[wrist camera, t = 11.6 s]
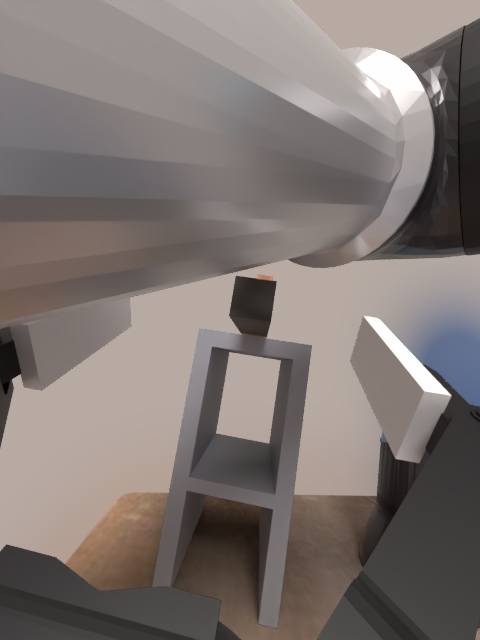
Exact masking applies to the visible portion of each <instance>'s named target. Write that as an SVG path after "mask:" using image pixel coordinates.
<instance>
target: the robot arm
mask: <svg viewBox="0 0 480 640" xmlns="http://www.w3.org/2000/svg"><path fill="white" fill-rule="evenodd" d="M476 254H480V18H479V19H477V20H476V21H474V22H472V23H470V24H469V25H467V26H463V27H461V28H459V29H457V30H455V31H453V32H452V33H450V34H448V35H446V36H444V37H443V38H441V39H439V40H437V41H435V42H433V43H432V44H430V45H428V46H426V47H424V48H422V49H421V50H419V51H417V52H415V53H412V54H410V55H408V56H406V57H403V58H401V59H398V58H397V57H395V56H393V55H391V54H389V53H386V52H384V51H381V50H378V49H372V48H366V47H359V48H347V49H343V50H341V49H340V48H339V47H338V46H337V45H336V44H335V43H334V42H333V41H332V40H331V39H330V38H329V37H328V36H327V35H326V34H325V33H324V32H323V31H322V30H321V29H320V28H319V27H318V26H317V25H316V24H315V23H314V22H313V21H312V20H311V19H310V18H309V17H308V16H307V15H306V14H305V13H304V12H303V11H302V10H301V9H300V8H299V7H298V6H297V5H296V4H295V3H294V2H293V1H292V0H0V446H1V442H2V438H3V433H4V429H5V424H6V420H7V415H8V411H9V407H10V402H11V398H12V394H13V389H14V388H13V383H12V379H13V378H15V377H16V376H18V375H20V374H21V377H22V381H23V385H24V387H26V388H30V389H36V390H41V391H42V390H43V389H45V388H46V387H48V386H49V385H50V384H52V383H53V382H54V381H56V380H57V379H59V378H60V377H61V376H63V375H64V374H66V373H67V372H68V371H70V370H71V369H73V368H74V367H75V366H77V365H78V364H79V363H81V362H82V361H84V360H85V359H87V358H88V357H89V356H91V355H92V354H93V353H95V352H96V351H97V350H99V349H100V348H102V347H103V346H105V345H106V344H107V343H109V342H110V341H112V340H113V339H114V338H116V337H117V336H119V335H120V334H121V333H123V332H124V331H126V330H127V329H128V328H130V327H131V310H130V297H134V296H138V295H142V294H146V293H150V292H154V291H159V290H163V289H167V288H171V287H175V286H179V285H183V284H188V283H192V282H196V281H200V280H204V279H208V278H212V277H216V276H220V275H224V274H228V273H233V272H237V271H241V270H245V269H249V268H253V267H257V266H262V265H266V264H270V263H274V262H278V261H282V260H286V259H288V260H290V261H292V262H294V263H297V264H299V265H303V266H308V267H313V268H328V267H336V266H340V265H344V264H347V263H350V262H352V261H362V260H381V259H417V258H443V257H452V256H461V255H476ZM350 362H351V364H352V366H353V369H354V371H355V373H356V375H357V377H358V379H359V382H360V384H361V386H362V388H363V390H364V392H365V394H366V396H367V399H368V401H369V403H370V405H371V407H372V409H373V412H374V414H375V416H376V418H377V420H378V422H379V425H380V427H381V429H382V437H381V438H380V442H381V449H380V461H379V474H378V487H377V500H376V505H375V507H374V510H373V512H372V514H371V516H370V518H369V520H368V522H367V524H366V527H365V529H364V531H363V533H362V536H361V541H360V552H359V554H360V559H361V562H362V564H363V566H364V568H363V569H362V571H361V572H360V574H359V576H358V577H357V578H356V579H354V580H353V582H352V583H351V584H350V586H349V588H348V589H347V591H346V592H345V594H344V595H343V597H342V599H341V600H340V602H339V604H338V605H337V607H336V609H335V610H334V612H333V614H332V615H331V617H330V619H329V620H328V622H327V624H326V625H325V627H324V628H323V630H322V632H321V633H320V635H319V637H318V638H317V640H475V637H476V632H477V628H480V407H478V406H474V405H469V404H468V403H467V402H466V401H465V400H464V399H463V398H462V397H461V396H460V395H459V394H458V393H457V392H456V391H455V390H454V389H452V387H451V386H450V385H449V384H448V383H447V382H445V380H444V379H443V378H442V376H441V375H439V373H437V372H436V371H434V370H433V369H431V368H429V367H428V366H426V365H422V364H421V363H420V362H419V361H418V360H417V359H416V358H415V356H414V355H413V354H412V353H411V352H410V351H409V350H408V349H407V348H406V347H405V346H404V345H403V344H402V343H401V342H400V341H399V339H397V337H396V336H395V335H394V334H393V333H392V332H391V331H390V330H389V329H388V328H387V327H386V326H385V325H384V324H383V323H382V321H381V320H380V319H379V318H374V317H367V316H363V319H362V322H361V326H360V329H359V332H358V336H357V339H356V343H355V346H354V350H353V353H352V356H351V360H350ZM220 605H221V600H218V599H214V598H210V597H206V596H202V595H198V594H195V593H191V592H187V591H183V590H179V589H175V588H171V587H168V586H157V587H145V588H134V589H122V590H110V591H101V590H98V589H96V588H94V587H93V586H92V585H90V584H89V583H88V582H86V581H85V580H84V579H83V578H81V577H80V576H79V575H78V574H76V573H75V572H74V571H72V570H71V569H70V568H69V567H67V566H66V565H65V564H64V563H62V562H61V561H60V560H58V559H57V558H56V557H52V556H49V555H45V554H41V553H37V552H33V551H29V550H26V549H22V548H18V547H14V546H10V545H6V546H5V547H4V548H3V549H2V550H1V551H0V640H241V639H240V638H239V637H238V636H236V635H235V634H234V633H233V632H232V631H231V630H230V629H229V628H227V627H226V626H225V625H223V624H222V623H221V622H219V621H218V619H219V612H220Z"/></svg>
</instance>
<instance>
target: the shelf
mask: <svg viewBox="0 0 480 640" xmlns="http://www.w3.org/2000/svg"><path fill="white" fill-rule="evenodd" d="M311 348H312V346H311V345H305V344H299V343H292V342H286V341H278V340H273V339H266V338H260V337H253V336H247V335H240V334H233V333H227V332H220V331H213V330H207V329H200V328H199V332H198V337H197V343H196V348H195V354H194V359H193V364H192V370H191V375H190V381H189V387H188V392H187V397H186V403H185V408H184V414H183V419H182V425H181V430H180V436H179V441H178V447H177V452H176V457H175V463H174V469H173V474H172V480H171V485H170V490H169V496H168V501H167V507H166V512H165V518H164V523H163V528H162V534H161V539H160V545H159V550H158V556H157V561H156V567H155V572H154V578H153V583H152V587H157V586H168V587H171V588H173V585H174V583H175V580H176V578H177V575H178V572H179V570H180V567H181V565H182V562H183V559H184V557H185V554H186V552H187V549H188V547H189V544H190V541H191V539H192V536H193V534H194V531H195V528H196V526H197V523H198V521H199V518H200V516H201V513H202V510H203V508H204V502H205V496H206V495H209V496H213V497H218V498H223V499H227V500H232V501H236V502H241V503H246V504H250V505H255V506H260V507H261V509H260V516H259V596H258V624H260V625H264V626H268V627H272V628H276V629H277V626H278V618H279V610H280V602H281V594H282V586H283V577H284V569H285V561H286V553H287V545H288V536H289V528H290V520H291V512H292V504H293V496H294V487H295V479H296V471H297V462H298V454H299V447H300V438H301V430H302V422H303V413H304V406H305V398H306V389H307V381H308V372H309V365H310V356H311ZM229 352H233V353H240V354H246V355H252V356H258V357H264V358H270V359H277V360H281V364H280V371H279V379H278V385H277V393H276V401H275V407H274V415H273V422H272V429H271V437H270V444H267V443H262V442H257V441H252V440H246V439H241V438H236V437H231V436H226V435H221V434H216V430H217V424H218V417H219V411H220V405H221V399H222V393H223V387H224V381H225V375H226V369H227V363H228V356H229Z"/></svg>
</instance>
